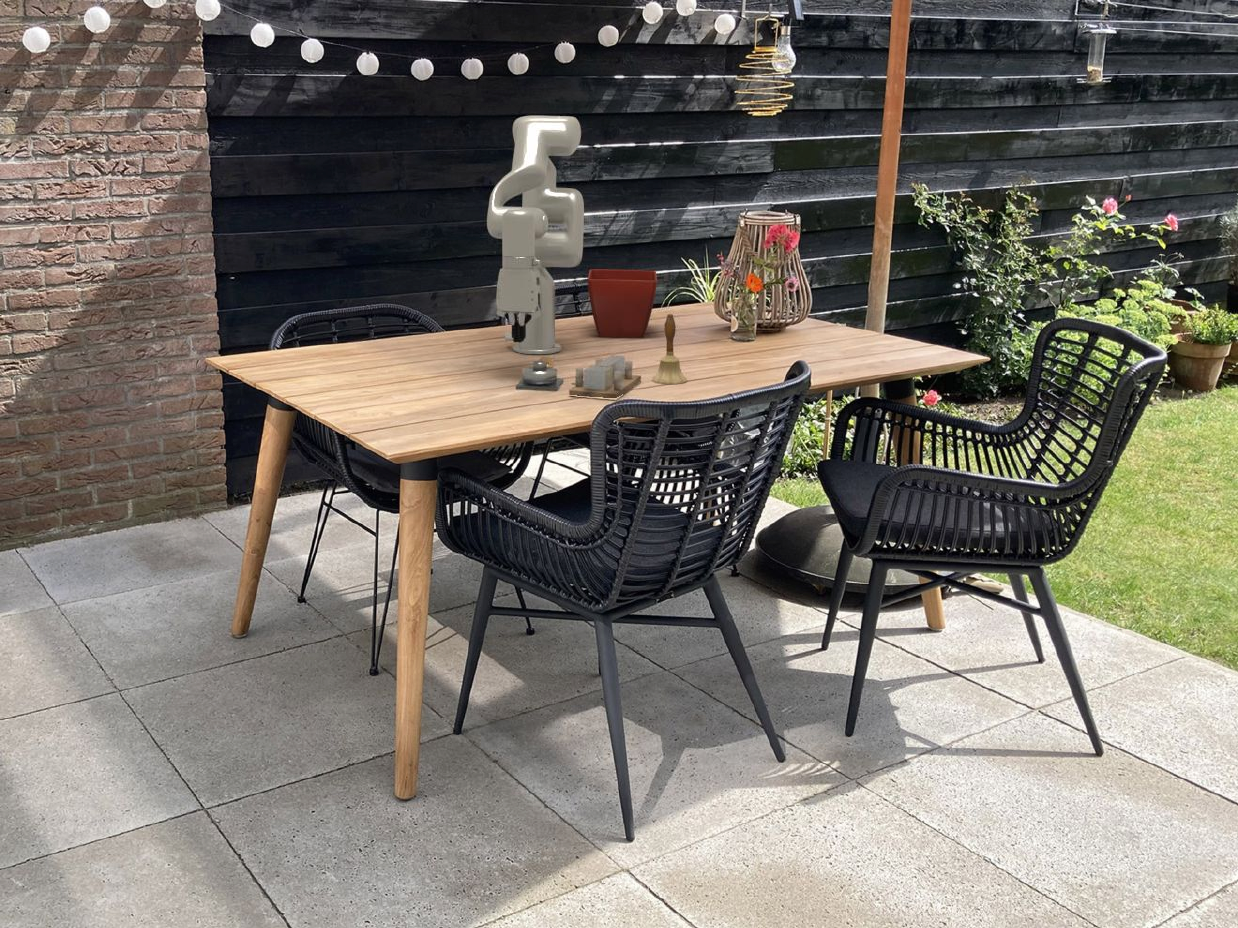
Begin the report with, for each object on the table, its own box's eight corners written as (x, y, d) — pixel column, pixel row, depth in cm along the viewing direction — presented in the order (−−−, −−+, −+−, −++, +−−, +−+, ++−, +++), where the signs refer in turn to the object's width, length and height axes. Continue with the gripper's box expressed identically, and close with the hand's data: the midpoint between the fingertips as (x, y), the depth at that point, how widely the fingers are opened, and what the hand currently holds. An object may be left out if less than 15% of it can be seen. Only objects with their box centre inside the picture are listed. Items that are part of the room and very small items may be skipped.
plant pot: (655, 341, 345) (657, 280, 340) (586, 339, 345) (587, 278, 340) (654, 328, 363) (656, 270, 359) (589, 327, 364) (589, 269, 359)
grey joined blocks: (608, 373, 297) (608, 354, 296) (628, 375, 296) (628, 356, 295) (583, 389, 281) (584, 369, 280) (605, 391, 280) (605, 371, 278)
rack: (569, 396, 281) (569, 372, 279) (596, 378, 299) (596, 355, 297) (615, 400, 278) (616, 376, 276) (640, 381, 296) (641, 359, 294)
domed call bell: (553, 385, 286) (553, 366, 285) (519, 383, 287) (519, 365, 286) (563, 372, 299) (563, 354, 298) (531, 370, 300) (531, 353, 299)
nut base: (577, 391, 285) (577, 388, 285) (515, 389, 287) (515, 385, 286) (583, 382, 294) (583, 379, 294) (523, 380, 296) (523, 376, 296)
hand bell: (662, 385, 293) (664, 318, 288) (645, 378, 300) (647, 312, 295) (693, 382, 296) (695, 316, 292) (675, 375, 303) (677, 310, 299)
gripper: (554, 263, 293) (553, 341, 298) (494, 261, 297) (494, 337, 302) (544, 266, 286) (543, 346, 291) (482, 263, 290) (483, 342, 295)
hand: (518, 341), depth 296 cm, fingers closed
